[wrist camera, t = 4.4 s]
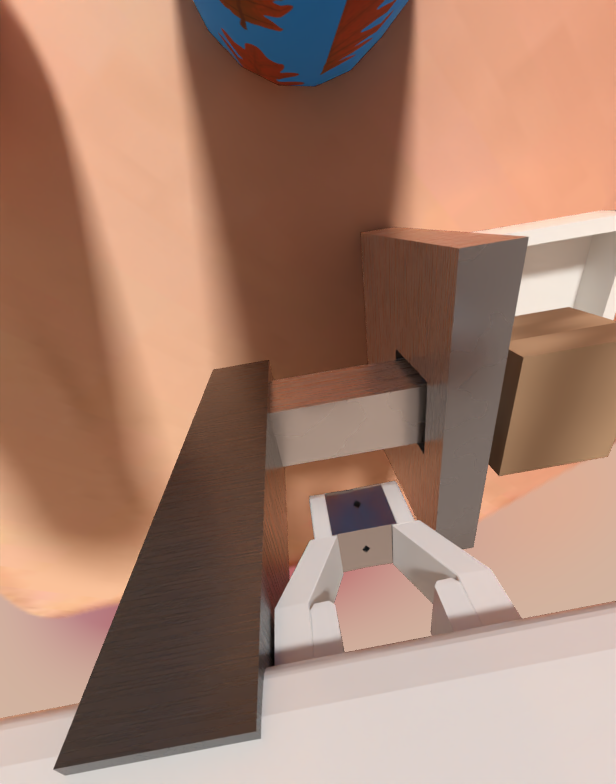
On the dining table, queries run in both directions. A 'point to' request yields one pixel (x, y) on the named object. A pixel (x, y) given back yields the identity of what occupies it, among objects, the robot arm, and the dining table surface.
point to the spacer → (556, 392)
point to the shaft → (225, 559)
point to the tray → (568, 263)
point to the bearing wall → (445, 356)
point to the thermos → (298, 35)
